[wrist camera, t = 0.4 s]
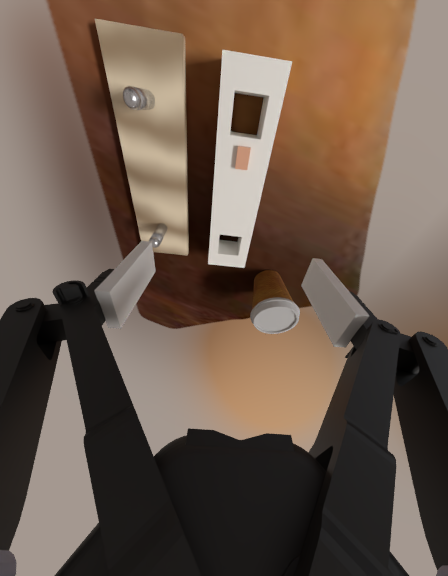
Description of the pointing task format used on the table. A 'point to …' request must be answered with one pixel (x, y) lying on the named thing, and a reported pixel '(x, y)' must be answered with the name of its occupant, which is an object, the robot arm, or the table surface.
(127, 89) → the chrome knobs
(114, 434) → the robot arm
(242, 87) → the power strip
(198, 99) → the table surface
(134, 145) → the hanger board
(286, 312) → the disposable coffee cup
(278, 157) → the table surface
